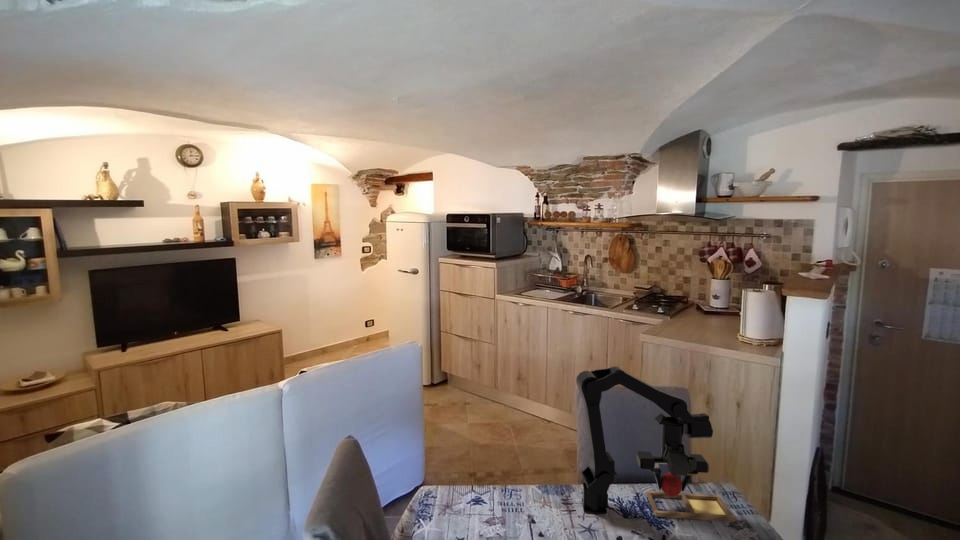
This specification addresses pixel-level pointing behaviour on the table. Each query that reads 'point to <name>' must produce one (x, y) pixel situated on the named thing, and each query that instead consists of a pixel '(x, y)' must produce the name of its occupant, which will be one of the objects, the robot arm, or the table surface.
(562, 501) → the table surface
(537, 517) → the table surface
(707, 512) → the wooden divided frame
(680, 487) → the red pomegranate
